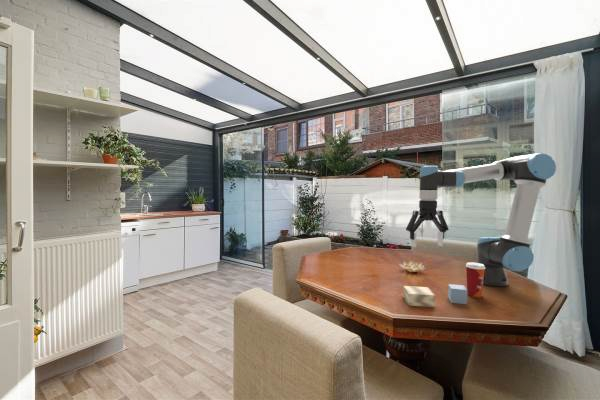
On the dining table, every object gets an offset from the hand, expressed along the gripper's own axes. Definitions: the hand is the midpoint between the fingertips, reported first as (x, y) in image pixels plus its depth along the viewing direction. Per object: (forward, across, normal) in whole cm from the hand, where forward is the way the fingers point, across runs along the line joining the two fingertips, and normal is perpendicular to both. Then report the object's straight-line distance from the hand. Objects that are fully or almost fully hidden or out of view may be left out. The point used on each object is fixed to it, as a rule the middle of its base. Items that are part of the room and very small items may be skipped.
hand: (426, 246), depth 136 cm
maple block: (+21, +11, +11) cm, 26 cm away
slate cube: (+21, -6, +13) cm, 25 cm away
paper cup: (+21, -19, +8) cm, 29 cm away
